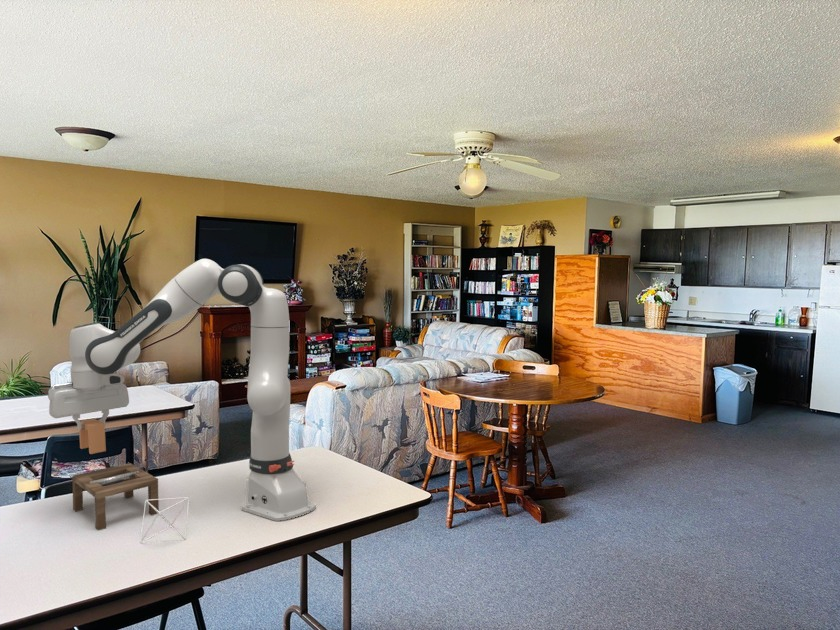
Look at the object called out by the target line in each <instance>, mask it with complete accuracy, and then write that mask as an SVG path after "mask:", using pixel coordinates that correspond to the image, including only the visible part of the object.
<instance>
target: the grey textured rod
mask: <svg viewBox="0 0 840 630" xmlns="http://www.w3.org/2000/svg"><path fill="white" fill-rule="evenodd" d="M134 473H139V471H135V472H131V473H126V474H122V475H117V476H113V477H108V478H104V479H99V480H95V481H91V482H90V483H95V482H97V483H99V484H100V485H102V486H104V485H109V484H113V483H115V482H119V481H120V482H122V481H124V480H125V479H129V478H133V479H134Z"/></svg>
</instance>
